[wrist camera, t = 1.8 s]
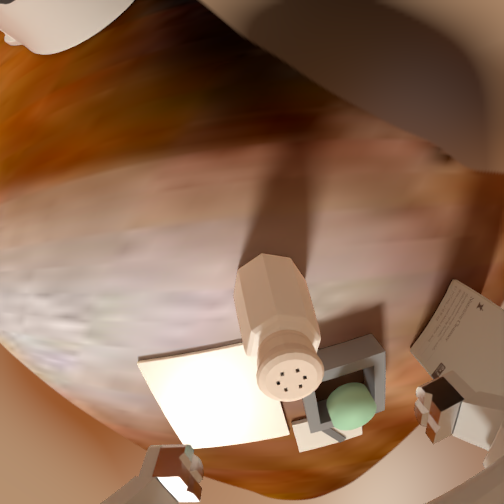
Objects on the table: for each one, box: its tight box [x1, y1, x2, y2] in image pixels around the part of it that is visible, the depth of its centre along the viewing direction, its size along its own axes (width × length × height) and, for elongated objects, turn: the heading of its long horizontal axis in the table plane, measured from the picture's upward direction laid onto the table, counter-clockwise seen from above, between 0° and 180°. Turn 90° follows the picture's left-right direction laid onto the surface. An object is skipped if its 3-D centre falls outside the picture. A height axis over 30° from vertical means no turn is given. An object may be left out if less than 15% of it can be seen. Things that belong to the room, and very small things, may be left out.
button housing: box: [302, 334, 386, 433], centre depth 22 cm, size 7×7×3 cm
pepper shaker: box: [233, 253, 324, 402], centre depth 16 cm, size 5×5×11 cm
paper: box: [137, 342, 290, 449], centre depth 24 cm, size 12×11×1 cm
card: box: [292, 418, 362, 452], centre depth 25 cm, size 5×7×1 cm
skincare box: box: [410, 279, 504, 396], centre depth 16 cm, size 8×6×15 cm
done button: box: [326, 382, 377, 430], centre depth 20 cm, size 4×4×2 cm
